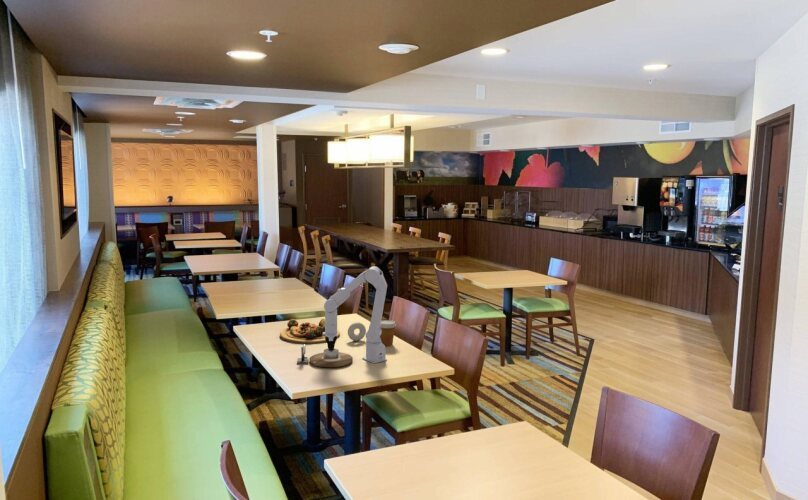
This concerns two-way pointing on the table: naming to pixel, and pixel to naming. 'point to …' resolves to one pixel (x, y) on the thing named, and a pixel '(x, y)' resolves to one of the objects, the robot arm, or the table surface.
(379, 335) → the robot arm
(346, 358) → the turntable
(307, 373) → the table surface
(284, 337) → the wooden plate with food
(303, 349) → the dial gauge
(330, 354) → the cover
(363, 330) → the donut
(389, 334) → the disposable coffee cup
